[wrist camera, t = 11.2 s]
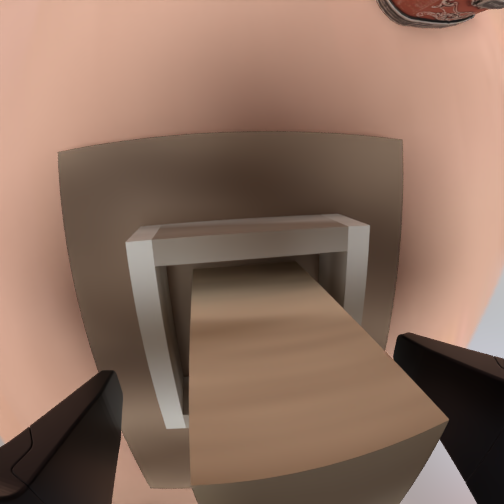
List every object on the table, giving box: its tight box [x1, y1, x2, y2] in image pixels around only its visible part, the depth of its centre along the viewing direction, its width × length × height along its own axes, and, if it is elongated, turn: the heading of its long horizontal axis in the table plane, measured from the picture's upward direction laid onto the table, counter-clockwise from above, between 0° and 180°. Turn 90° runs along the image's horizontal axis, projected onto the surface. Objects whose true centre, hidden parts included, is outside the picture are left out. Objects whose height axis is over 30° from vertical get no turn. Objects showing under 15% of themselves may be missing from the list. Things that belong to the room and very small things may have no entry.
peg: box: [189, 261, 449, 504], centre depth 8 cm, size 4×4×9 cm
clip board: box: [58, 131, 403, 489], centre depth 13 cm, size 20×14×4 cm
